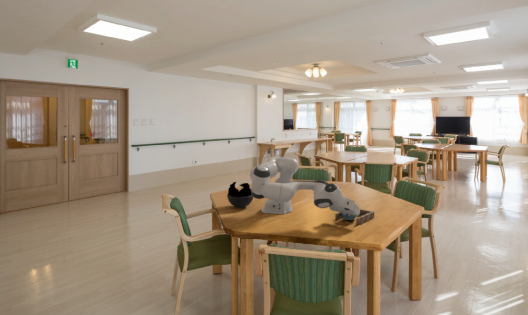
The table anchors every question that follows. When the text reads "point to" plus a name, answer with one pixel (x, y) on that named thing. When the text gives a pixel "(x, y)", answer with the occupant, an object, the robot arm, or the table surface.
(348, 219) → the flower pot
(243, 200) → the bowl of black rocks
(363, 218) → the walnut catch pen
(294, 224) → the table surface
